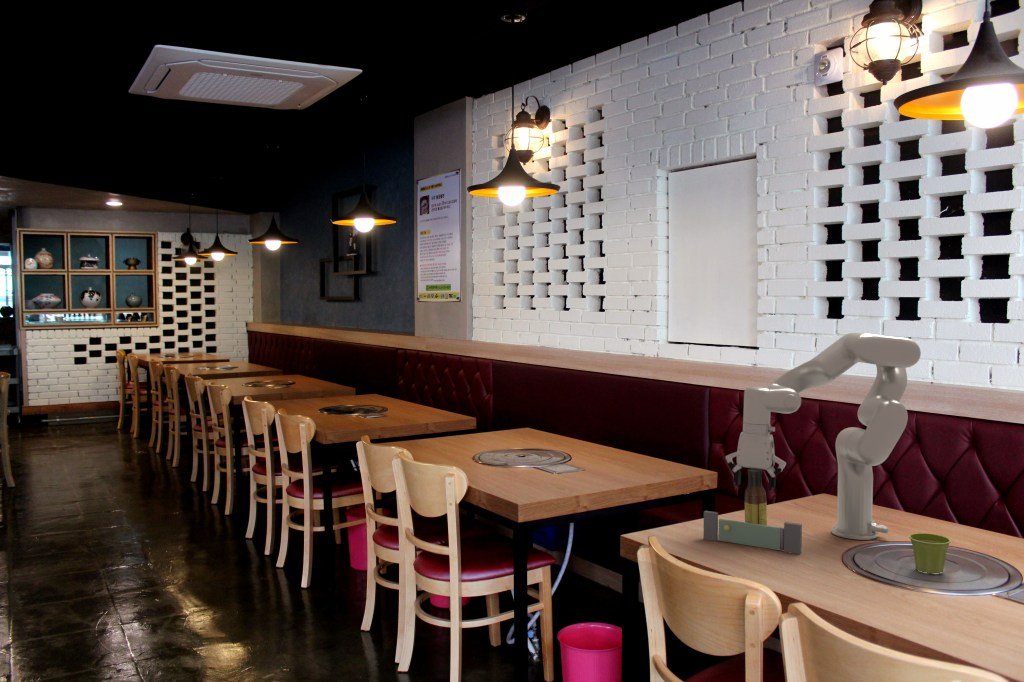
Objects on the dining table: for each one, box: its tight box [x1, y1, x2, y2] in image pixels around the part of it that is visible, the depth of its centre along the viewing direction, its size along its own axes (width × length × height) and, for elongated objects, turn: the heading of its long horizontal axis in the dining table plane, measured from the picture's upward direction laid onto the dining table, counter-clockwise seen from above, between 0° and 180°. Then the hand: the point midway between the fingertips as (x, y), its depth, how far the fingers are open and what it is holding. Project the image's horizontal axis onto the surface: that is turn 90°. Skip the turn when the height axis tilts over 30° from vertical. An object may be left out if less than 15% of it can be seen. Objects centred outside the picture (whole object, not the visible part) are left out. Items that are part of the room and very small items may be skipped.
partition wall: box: [702, 510, 803, 555], centre depth 226 cm, size 27×2×8 cm, turn 58°
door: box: [718, 518, 784, 551], centre depth 225 cm, size 18×3×6 cm, turn 58°
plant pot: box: [908, 532, 952, 573], centre depth 204 cm, size 9×9×9 cm
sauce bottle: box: [744, 468, 768, 526], centre depth 235 cm, size 7×6×20 cm
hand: (754, 487), depth 235 cm, fingers open, 9 cm apart
